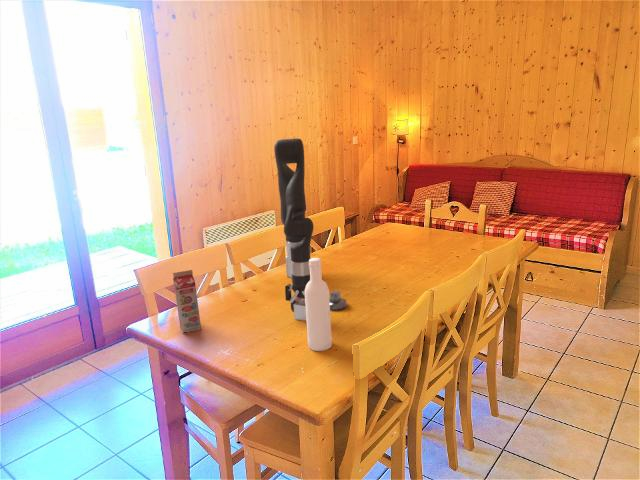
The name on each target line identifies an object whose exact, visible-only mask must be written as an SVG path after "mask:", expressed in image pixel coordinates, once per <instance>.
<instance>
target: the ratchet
mask: <svg viewBox="0 0 640 480" xmlns="http://www.w3.org/2000/svg"><path fill="white" fill-rule="evenodd" d="M300 299H304V298H298V297H297V299H296V300H295V301H296V302H297V301H298V300H300ZM329 301H330V312H331V311H332V312H336V311H337V312H339V311H343V310H344V309H346V308H347V306H348V305H347V300H346V299H345V298H343V297H341V291H340V290H332V291H330V292H329Z"/></svg>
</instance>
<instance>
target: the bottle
mask: <svg viewBox="0 0 640 480" xmlns="http://www.w3.org/2000/svg"><path fill="white" fill-rule="evenodd" d="M309 266H310V281H309V282H308V283H307V285H306V288H305V305H306V320H307V321H306V331H307V332H306V333H307V334H306V335H307V345H308V346H307V347H308V348H309V350H312V351H315V352H323V351H327V350H328V349H330V348H331V347H332V345H333V343H332V341H333V338H332V324H331V310H330V301H329V299H330V290H329V286H328V283H327V282H326V281H324V280H323V279H322V278H323V277H322V260H321V258H319V257H313V258H311V257H310V260H309Z"/></svg>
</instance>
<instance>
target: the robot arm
mask: <svg viewBox="0 0 640 480" xmlns="http://www.w3.org/2000/svg"><path fill="white" fill-rule="evenodd" d="M273 150H274V151H273V152H274V159H275V163H276V169H277V177H278V178H277V181H278V193H279V199H280V220H281V223H282V225H283V234H284V235H285V245H286V256H285V269H286V277H289V278H291V283H292V284H291V283H288V284H287V285H285V286H284V290H285V291H284V292H285V293H284V294H285V301H287V302H290V309H291V312H293V313H294V304H295V303H296V301H295V300H296V299H297V297H298V298H304V299H305V288H306V285H307V283H308V282H309V281H310V266H309V260H310V259H311V241H312V238H313V233H314V228H315V227H314V222H313V220H312V219H311V218H309V217H306V210H307V201H306V200H307V199H306V194H305V192H306V191H305V174H306V173H305V148H304V144H303V139H302V138H285V139H284V138H281V139H278V140H276V141H275V143H274V147H273ZM289 164H291V165H292V164H296V167H295V169H294V170H295V171H294V170H293V169H292V168H290V167H289V166H288V165H289ZM292 291H293V295H292Z"/></svg>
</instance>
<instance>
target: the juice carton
mask: <svg viewBox="0 0 640 480" xmlns="http://www.w3.org/2000/svg"><path fill="white" fill-rule="evenodd" d="M193 274H194V272H193V269H190V270H189V269H188V270H183V271H178V272H177V271H176V272H172V275H173V279H172V280H173V287H174V288H173V289H174V293H175V302H176V308H177V315H178V321H179V323H178V324H179V328H180V327H181V328H180V331H181V333H182V332H183V333H182V334H185V333H184V332H187V333H191V332H190V331H192V332H195V330H196V331H199V330H202V325H201V317H200V310H199V302H198V296H197V295H198V294H197V293H198V292H197V286H196V281H195V277H194V275H193Z"/></svg>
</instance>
